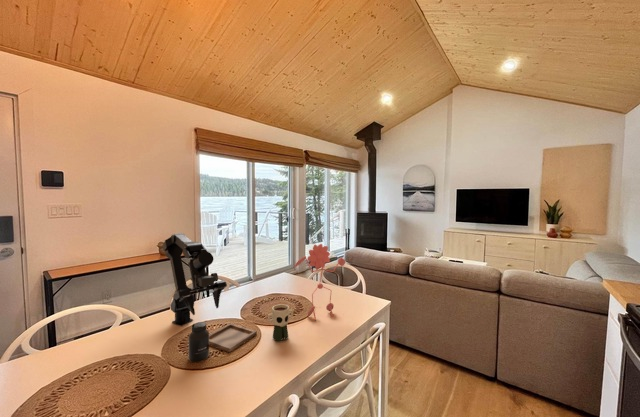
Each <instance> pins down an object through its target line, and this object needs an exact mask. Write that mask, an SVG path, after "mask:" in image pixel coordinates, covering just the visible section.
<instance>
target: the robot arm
mask: <svg viewBox="0 0 640 417" xmlns="http://www.w3.org/2000/svg"><path fill="white" fill-rule="evenodd" d="M162 251H163V252H164V255H165V256H166V257H167V258H168V259H169V260H170V266H171V271H172V276H173V281H174V287H175V291H174V292H173V296H172V301H171V303H170V306H169V307H170V310H171V311H172V312H173V313H174V320H173V321H171V324H174V325H176V326H179V327H181V326H184V325H186V324H188V323H191V322H192V321H194V319H193V318H191V315H192V316H195V315H196V312H195V307H194V306H195V301H196V297H195V294H200V293H205V292H207V291H211V290H212V297H213V301H214V306H215V307H216V309H219V307H220V305H219V303H220V298H221V293H222V291H224V290H225V288H227V287H228V283H227V282H226V280H219V275H218V273H217V272H213V273H210V275H209V274H208V272H207V271H206V268H208V267H209V266H210V265H212V264H213V262H214V255H212V253H211V252H209V251H208V250H207V248H206V247H205V245H203V243H202V242H199V241H193V240H191V239H190V238H188V237H187V236H186V234H185V233H181V232H180V233H173V234H171V236H169V238H167V239H164V241H163V243H162ZM182 255H183V256H184V257H185V258H186V259H189V261H188V263H187V266H189V271H190V281H191V282H192V288H191V287H189V286H187V281H186V275H185V272H184V271H185V269H184V266H183V259H182Z"/></svg>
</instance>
